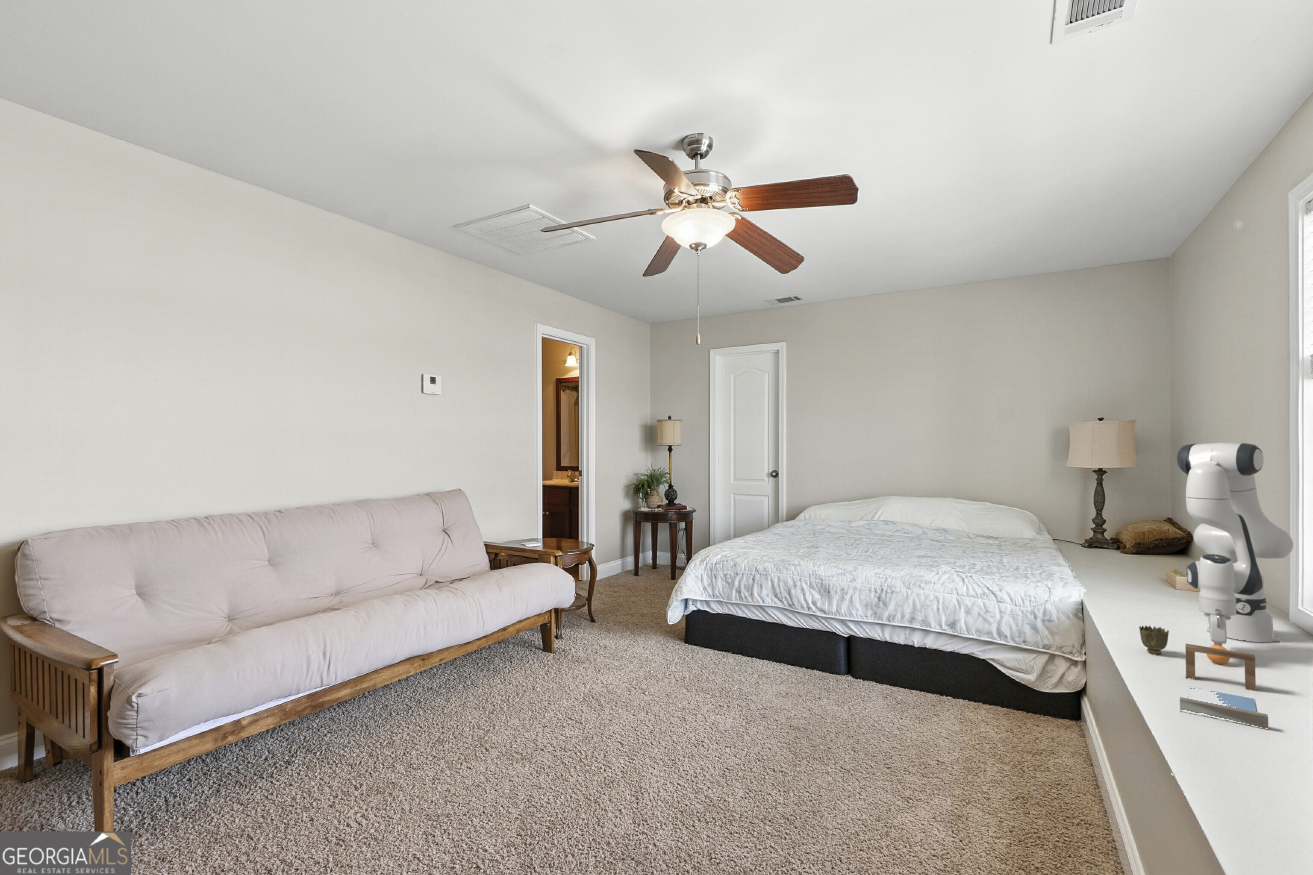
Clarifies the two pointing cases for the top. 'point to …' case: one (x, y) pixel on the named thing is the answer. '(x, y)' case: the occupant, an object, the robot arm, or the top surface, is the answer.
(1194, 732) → the top surface
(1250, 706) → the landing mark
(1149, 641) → the cup
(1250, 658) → the bridge
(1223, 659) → the ball
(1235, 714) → the wall
